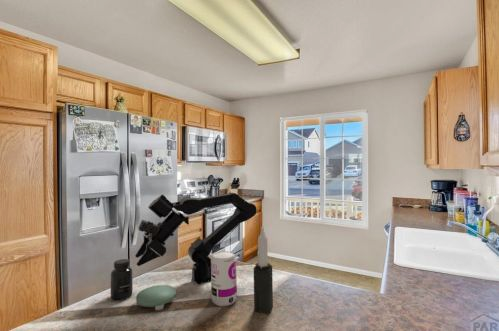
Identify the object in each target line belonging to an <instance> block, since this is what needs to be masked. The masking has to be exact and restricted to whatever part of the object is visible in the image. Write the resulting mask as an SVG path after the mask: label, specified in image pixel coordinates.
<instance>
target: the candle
mask: <svg viewBox="0 0 499 331" xmlns="http://www.w3.org/2000/svg"><path fill="white" fill-rule="evenodd" d="M260 229H261V231H260V234H259V236H258V237H257V263H255V266H254V267H253V310H254V312H255V313H263V314H266V315H267V314H270V313H271V312H272V311H273V308H274V303H273V302H274V300H273V299H274V297H273V294H274V293H273V291H274V288H273V283H274V282H273V281H274V279H273V265H272V264H270V263H269V262H268V258H269V256H268V253H269V252H268V237H267V236H266V233H265V230H264V227H263V226H261V228H260Z"/></svg>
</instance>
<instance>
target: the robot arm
mask: <svg viewBox="0 0 499 331" xmlns="http://www.w3.org/2000/svg"><path fill="white" fill-rule="evenodd" d="M228 204H231V205H232V206H233V207H234V208H235V209H234V212H233V213H232V215H231V216H229V217H228V218H227V219H226V220H225V221H224V222H223V223H221V224H220V225H219V226H217V228H215V229H214V230H213V231H212V232H211V233H210V234H208V235H207V236H206V237H205V238H202V239H201V238H200V237H197V238H196V239H195V240H194V241H193V242H192V243H190V246H189V247H188V249H187V250H188V251H187V256H188V257H189V258H190V260H191V261H192V262H193V265H192V268H191V279H192V281H194V282H195V284H197V285H201V284H205V283H208V282H211V259H212V258H211V257H210V256H209V255H210V254H211V252H212V250H213V249H214V247H215V246H216V245H217V244H218V243H220V242H221V241H222V240H223V239H225V238H226V236H227V235H228V234H229V233H231V232H232V231H234V229H235V228H237V227H238V226H239V225H240V224H241V223H243V222H247V221H249V220H250V219H252V218H253V217H255V216H256V215H257V207H256V205H255V204H254V203H251V202H248V201H247V200H245V199H244V198H243V197H241V196H239V195H238V193H236V192H228V193H224V194H218V195H212V196H208V197H184V198H181V200H179V201H175V202H171V201H170V200H169V199H167V197H166V196H165V195H164V194H161V195H159V196H158V197H157V198H156V199H154V200H153V201H152V202H150V204H149V205H148V207H147V208H148V209H149V210H150V211H151V212H153V213H154V215H156V217H158V218H159V219H161V218H164V220H162V222H161V221H159V222H158V223H154V222H151V221H149V220H148V221H147V220H145V219H141V221H140V223H139V225H138V227H137V228H138V231H140V232H143V242H142V244H141V246H140V247H139V249H138V251H137V252H136V254H135V255H134V256H135V257H136V258H137V259H138V258H139V259H138V261H137V262H136V266H138V267H141V266H142V265H145V264H146V263H149V262H151V261H153V260H155V259H157V258H161V257H163V256H164V255H165V254H166V253H167V247H166V246H165V245H166V244H167V243H166V242H167V240H169V238H170V237H173V236H174V235H175V234H174V233H175V232H176V231H177V229H178V228H179V227H180V226H181V225H182V224H183V223H185V225H190V221H189V220H190V217H189V215H190V216H191V215H194V214H196V213H198V212H200V211H202V210H204V209H208V208H212V207H217V206H223V205H228ZM173 208H174V210H173ZM175 210H176V211H175ZM177 211H178V212H177ZM184 214H185V215H186V216H185V215H184Z"/></svg>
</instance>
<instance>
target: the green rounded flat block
mask: <svg viewBox="0 0 499 331" xmlns="http://www.w3.org/2000/svg"><path fill="white" fill-rule="evenodd" d="M176 294H177V293H176V288H175V287H173V286H172V285H167V284H159V285H152V286H149V287H146V288H143V289H142V290H140V291H138V293H137V294H136V297H135V298H136V299H135V301H136V304H137V305H138V306H141V307H144V308H147V307H148V308H154V310H155V311H162V310H163V309H164V308H165V307H164V306H165V304H167V303H169V302H171V301H172V300H174V299H175V298H176Z"/></svg>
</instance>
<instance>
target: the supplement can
mask: <svg viewBox="0 0 499 331" xmlns="http://www.w3.org/2000/svg"><path fill="white" fill-rule="evenodd" d="M210 259H211V281H210V282H211V284H210V285H211V286H210V287H211V296H210V297H211V302H212V303H213V304H214V305H215V306H219V307H228V306H231V305H233V304H234V303H235V302H236V301H237V299H238V292H237V291H238V289H237V288H238V286H237V284H238V283H237V281H238V280H237V276H238V275H237V274H238V273H237V257H236V255H235V254H234V252H232V251H226V250H225V251H222V250H221V251H217V252H214V253H213V254H212V257H211V258H210Z"/></svg>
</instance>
